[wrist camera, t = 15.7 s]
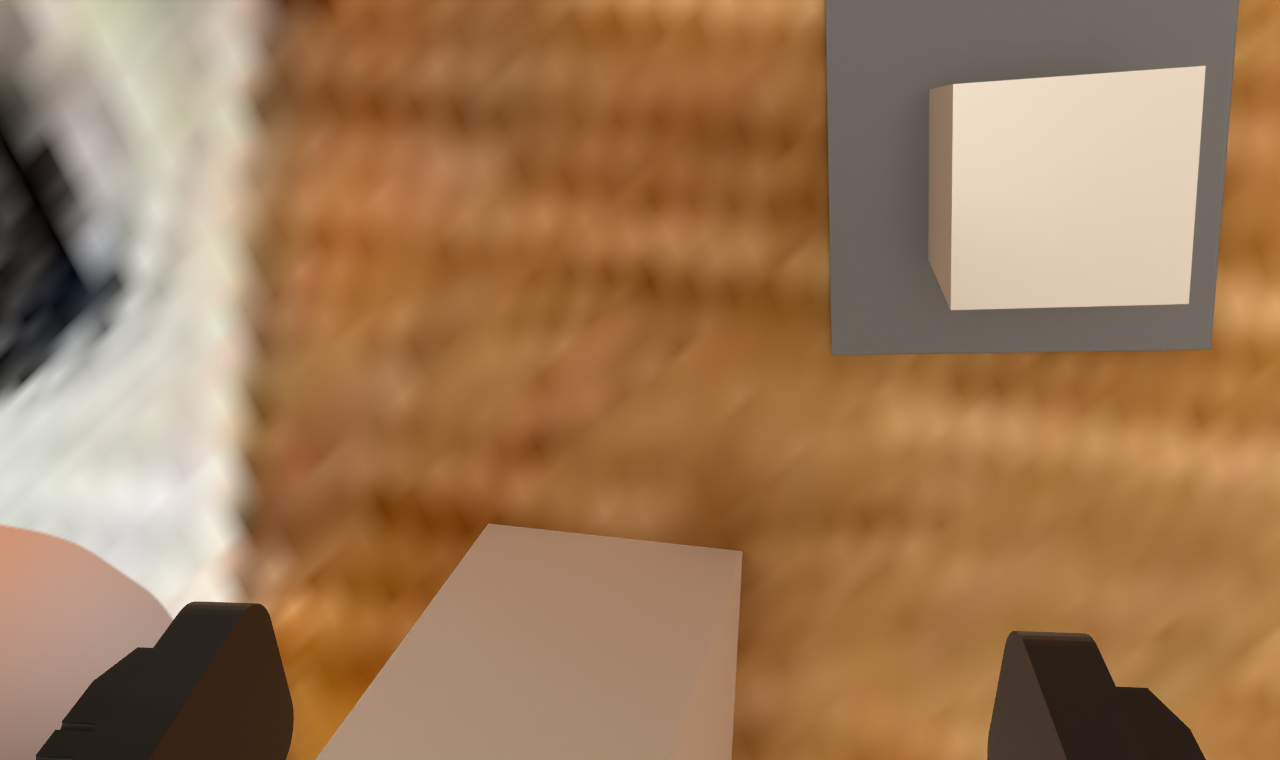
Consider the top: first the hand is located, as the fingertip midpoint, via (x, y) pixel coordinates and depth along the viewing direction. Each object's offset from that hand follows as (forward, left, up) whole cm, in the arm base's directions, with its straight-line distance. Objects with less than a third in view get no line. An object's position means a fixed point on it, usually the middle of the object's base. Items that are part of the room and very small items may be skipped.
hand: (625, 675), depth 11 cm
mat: (+9, -1, -32) cm, 33 cm away
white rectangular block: (+9, -1, -31) cm, 32 cm away
